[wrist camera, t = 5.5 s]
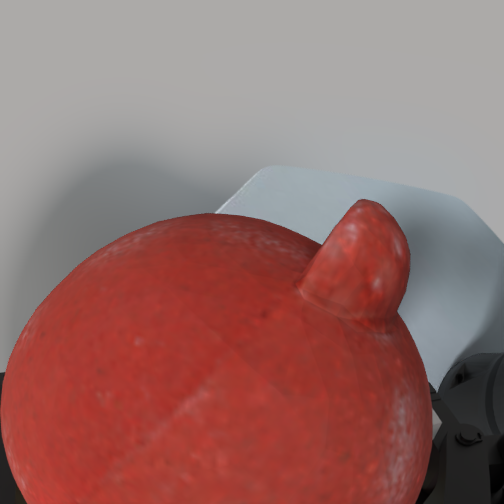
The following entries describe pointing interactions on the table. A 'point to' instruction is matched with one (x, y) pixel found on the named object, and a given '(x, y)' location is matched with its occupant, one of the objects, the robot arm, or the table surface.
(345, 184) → the table surface
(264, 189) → the table surface
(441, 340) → the table surface
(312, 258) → the stacking bear
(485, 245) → the table surface
